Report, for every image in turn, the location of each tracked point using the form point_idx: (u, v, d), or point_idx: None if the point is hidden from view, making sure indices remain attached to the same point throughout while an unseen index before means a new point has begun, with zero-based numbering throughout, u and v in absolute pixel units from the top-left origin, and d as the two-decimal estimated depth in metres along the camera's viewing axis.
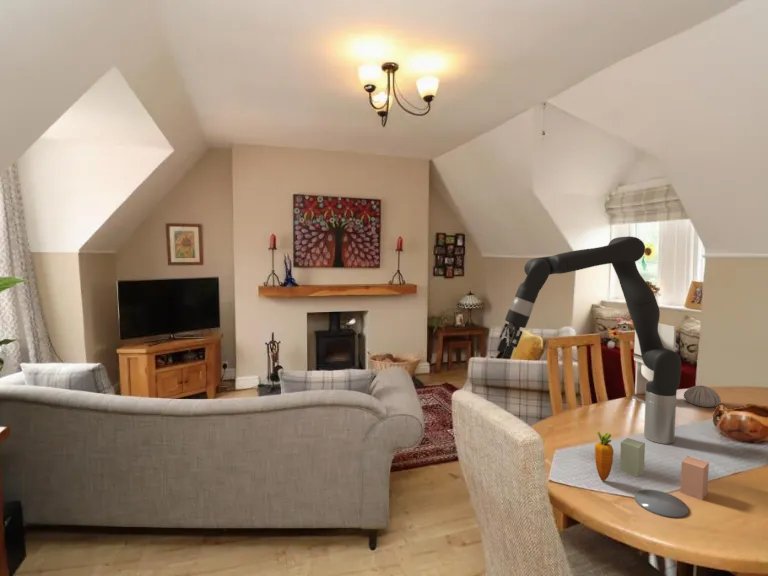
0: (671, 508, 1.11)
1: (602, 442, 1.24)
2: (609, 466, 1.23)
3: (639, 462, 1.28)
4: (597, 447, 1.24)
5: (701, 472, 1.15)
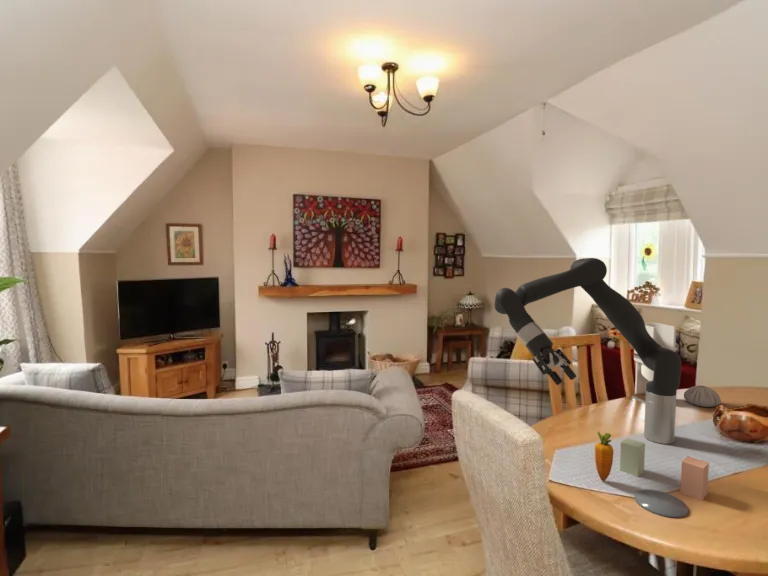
0: (671, 508, 1.11)
1: (602, 442, 1.24)
2: (609, 466, 1.23)
3: (639, 462, 1.28)
4: (597, 447, 1.24)
5: (701, 472, 1.15)
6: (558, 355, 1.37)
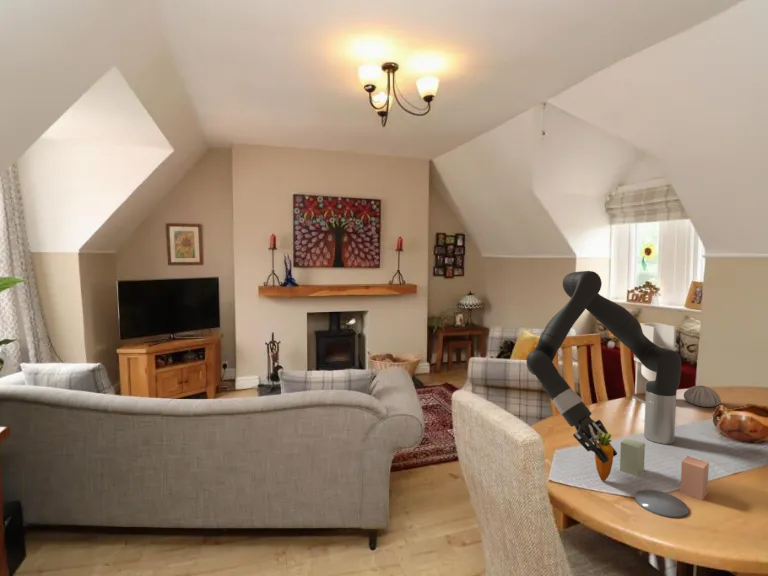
0: (671, 508, 1.11)
1: (602, 442, 1.24)
2: (609, 466, 1.23)
3: (639, 462, 1.28)
4: None
5: (701, 472, 1.15)
6: (597, 427, 1.28)
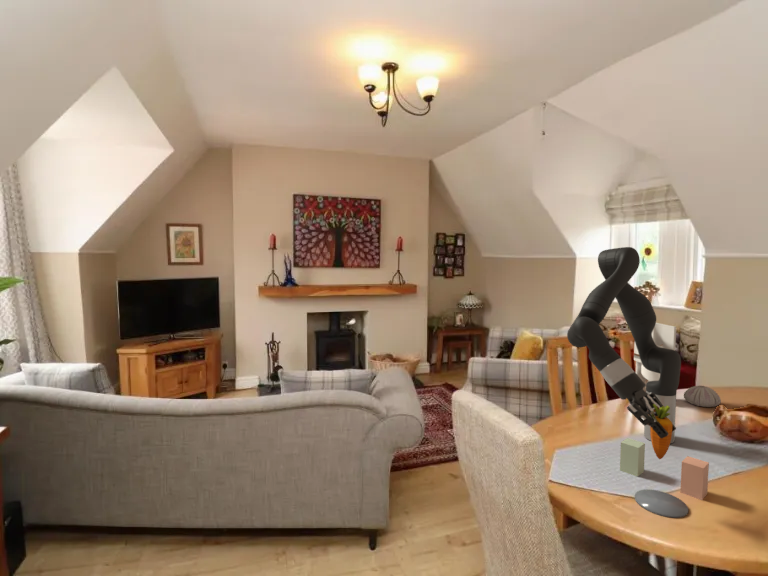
0: (671, 508, 1.11)
1: (659, 416, 1.12)
2: (668, 442, 1.11)
3: (639, 462, 1.28)
4: None
5: (701, 472, 1.15)
6: (653, 400, 1.16)
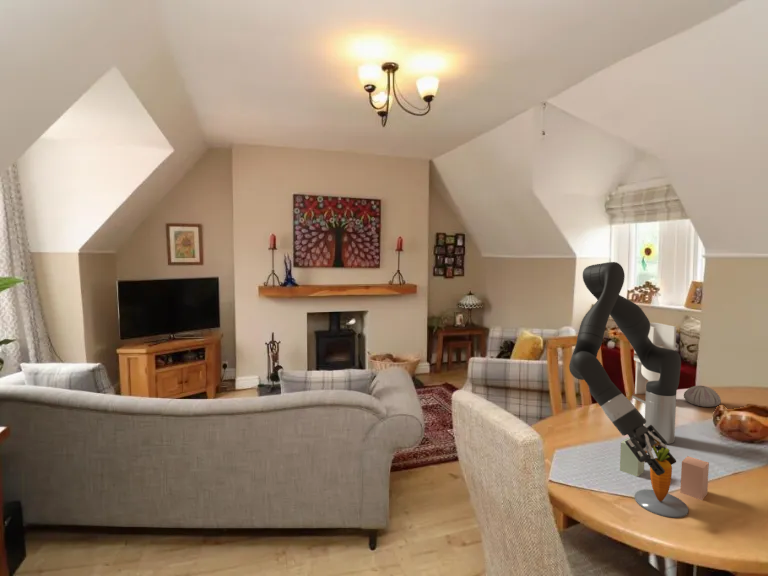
0: (671, 508, 1.11)
1: (659, 458, 1.13)
2: (668, 485, 1.12)
3: (639, 462, 1.28)
4: None
5: (701, 472, 1.15)
6: (653, 435, 1.16)
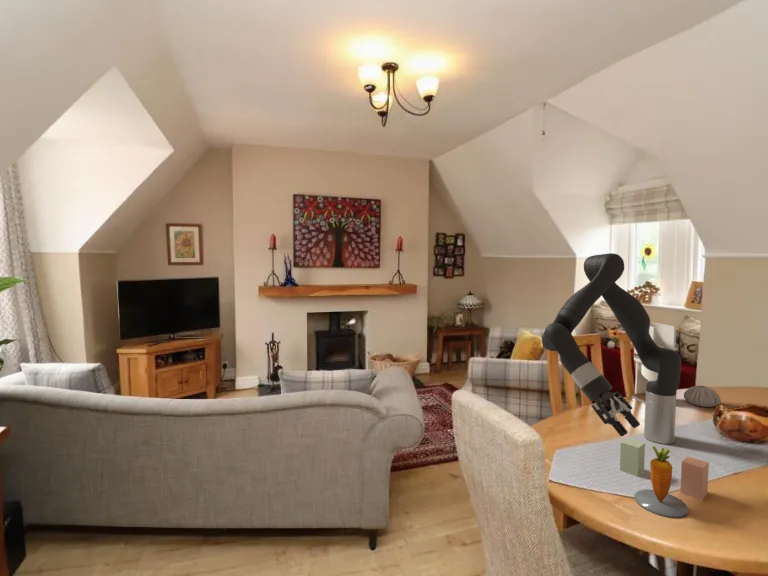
0: (671, 508, 1.11)
1: (659, 458, 1.13)
2: (668, 485, 1.11)
3: (639, 462, 1.28)
4: (654, 464, 1.13)
5: (701, 472, 1.15)
6: (618, 400, 1.23)
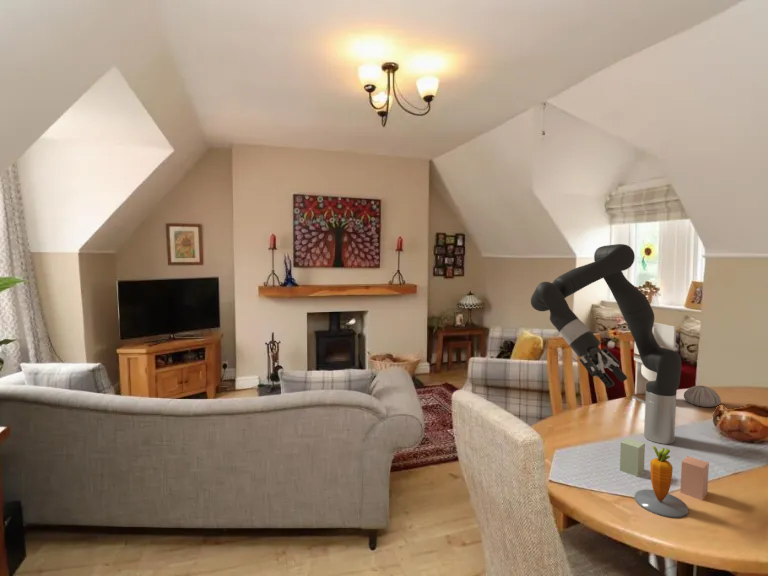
0: (671, 508, 1.11)
1: (659, 458, 1.13)
2: (668, 485, 1.12)
3: (639, 462, 1.28)
4: (654, 464, 1.13)
5: (701, 472, 1.15)
6: (606, 355, 1.25)
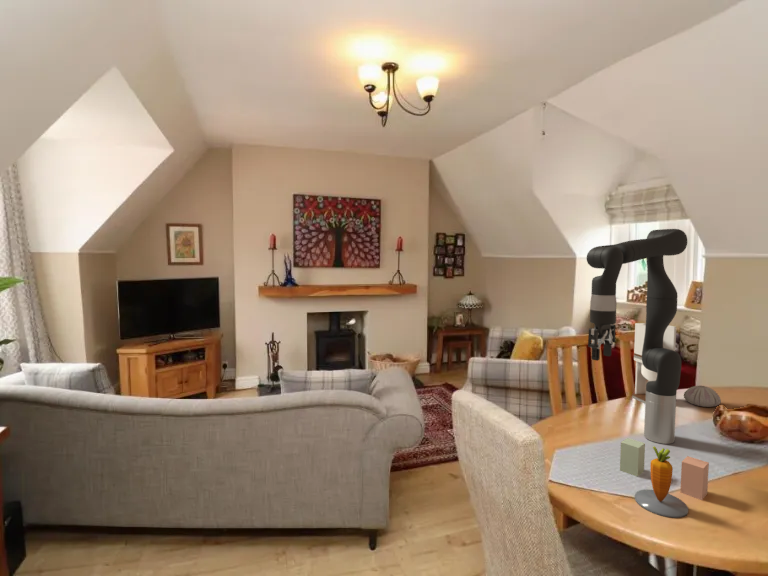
0: (671, 508, 1.11)
1: (659, 459, 1.13)
2: (668, 485, 1.11)
3: (639, 462, 1.28)
4: (654, 464, 1.12)
5: (701, 472, 1.15)
6: (611, 333, 1.38)
